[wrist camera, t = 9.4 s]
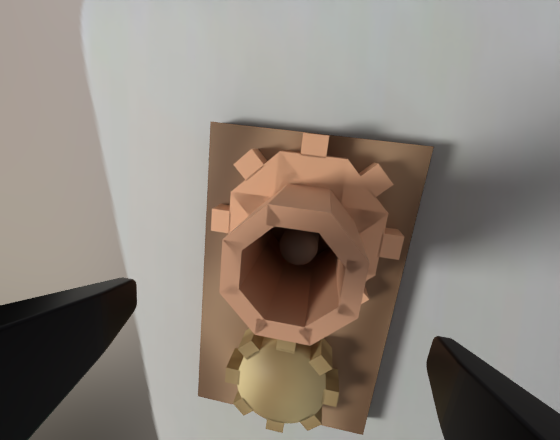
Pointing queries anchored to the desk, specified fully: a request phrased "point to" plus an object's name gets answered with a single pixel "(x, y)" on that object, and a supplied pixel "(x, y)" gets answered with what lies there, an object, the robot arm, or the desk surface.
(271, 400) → the carrier
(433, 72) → the desk surface
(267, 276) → the gear
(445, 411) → the robot arm
